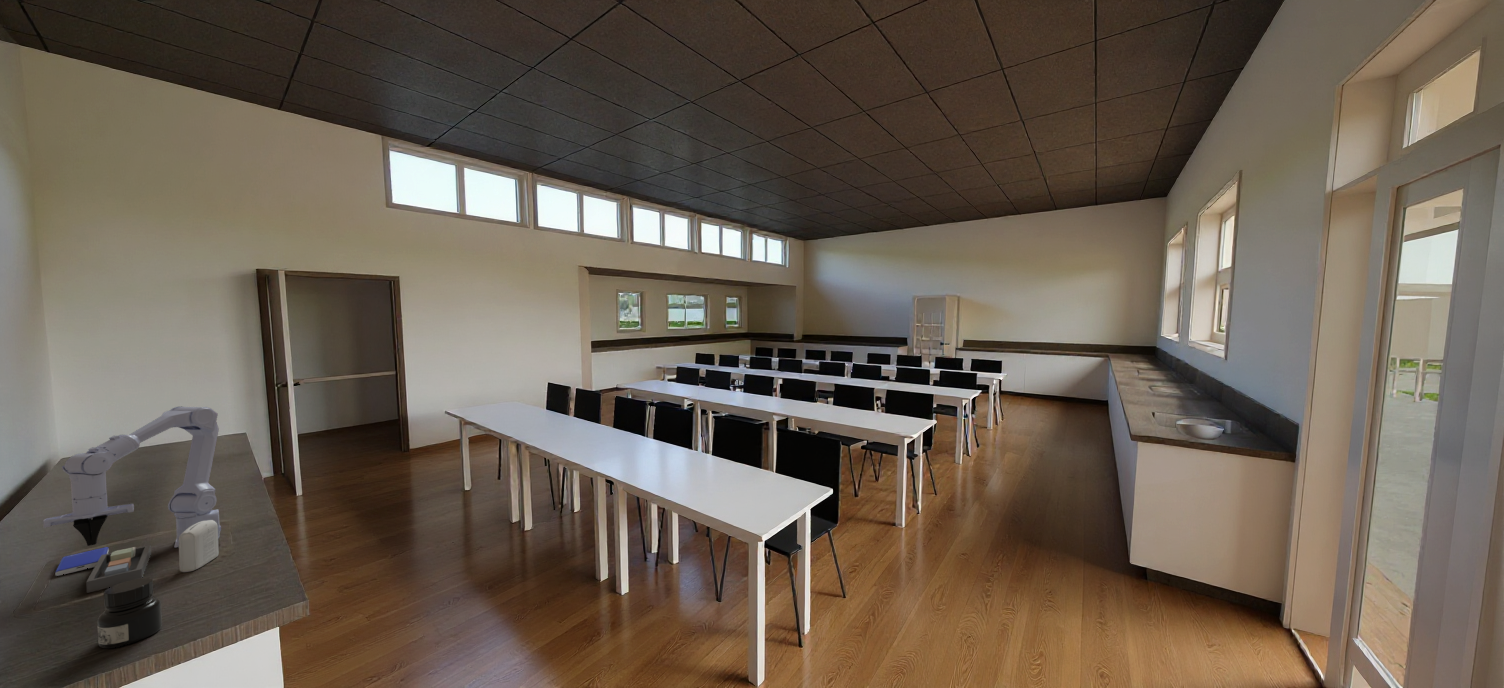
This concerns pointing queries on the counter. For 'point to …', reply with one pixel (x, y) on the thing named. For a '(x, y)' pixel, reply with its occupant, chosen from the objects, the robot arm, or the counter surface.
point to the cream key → (133, 551)
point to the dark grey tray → (135, 572)
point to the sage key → (121, 554)
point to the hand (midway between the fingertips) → (92, 544)
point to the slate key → (116, 569)
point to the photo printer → (198, 545)
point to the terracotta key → (120, 562)
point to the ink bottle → (129, 613)
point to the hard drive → (80, 561)
